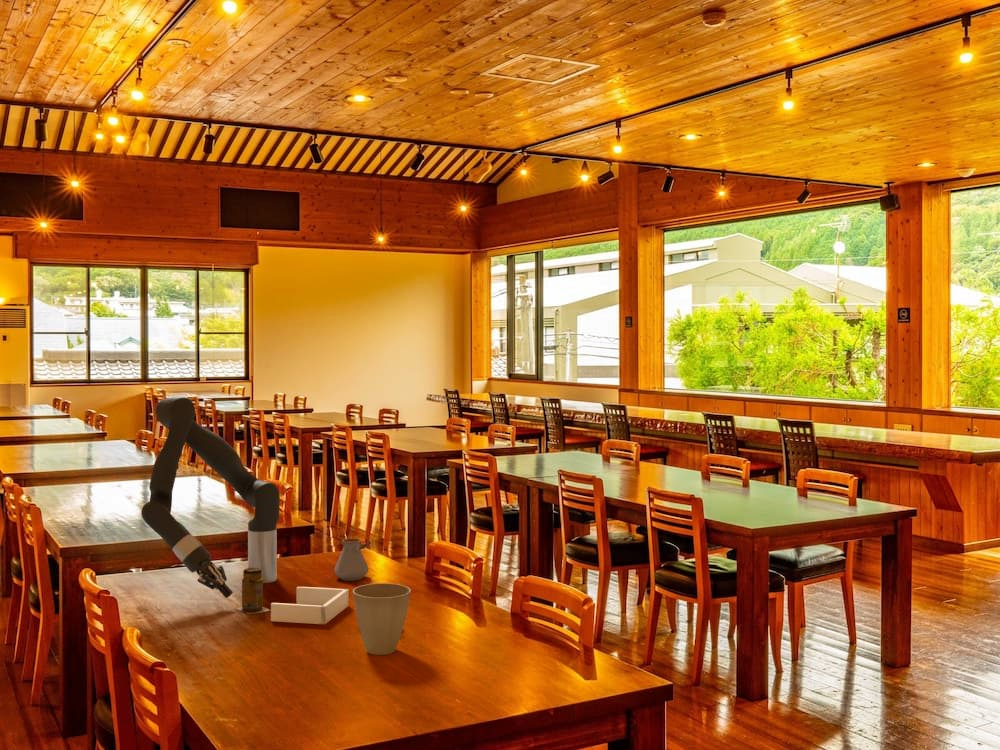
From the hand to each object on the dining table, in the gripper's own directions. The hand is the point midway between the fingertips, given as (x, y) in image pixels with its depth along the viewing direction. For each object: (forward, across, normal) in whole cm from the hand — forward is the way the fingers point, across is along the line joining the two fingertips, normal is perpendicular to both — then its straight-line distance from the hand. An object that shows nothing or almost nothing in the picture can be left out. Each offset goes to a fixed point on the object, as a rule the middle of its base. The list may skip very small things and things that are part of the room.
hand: (229, 595), depth 299 cm
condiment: (+8, 0, -2) cm, 9 cm away
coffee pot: (+22, +40, -16) cm, 48 cm away
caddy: (+21, 0, -15) cm, 26 cm away
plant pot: (+43, -30, -37) cm, 64 cm away
